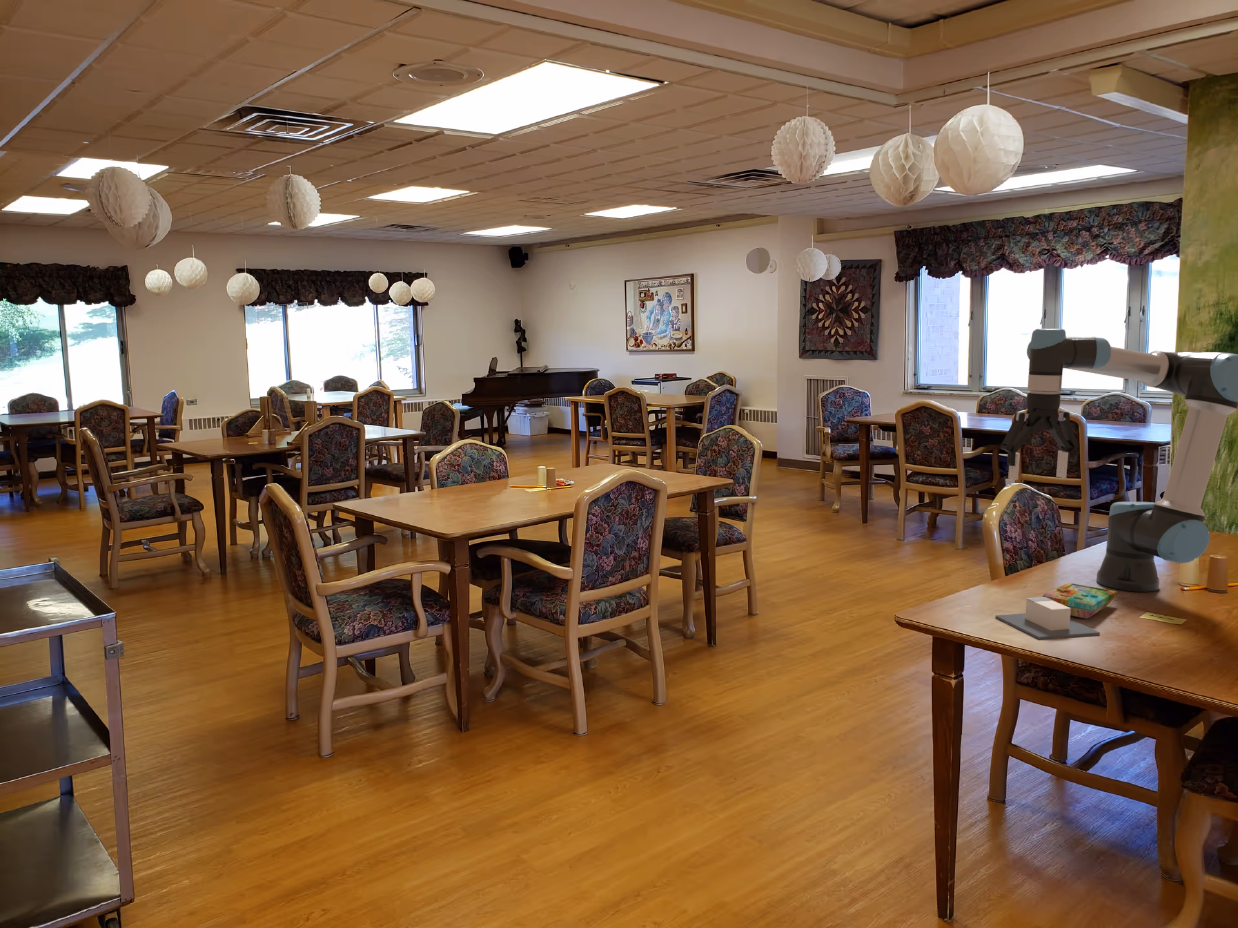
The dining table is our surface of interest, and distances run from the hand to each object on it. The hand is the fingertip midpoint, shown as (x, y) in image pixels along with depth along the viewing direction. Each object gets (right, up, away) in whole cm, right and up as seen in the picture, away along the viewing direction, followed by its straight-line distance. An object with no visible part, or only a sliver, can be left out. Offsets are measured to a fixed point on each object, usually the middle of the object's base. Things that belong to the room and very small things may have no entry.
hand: (1037, 478), depth 232 cm
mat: (-3, -35, -11) cm, 36 cm away
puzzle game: (+11, -33, +2) cm, 35 cm away
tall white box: (-3, -34, -11) cm, 36 cm away
